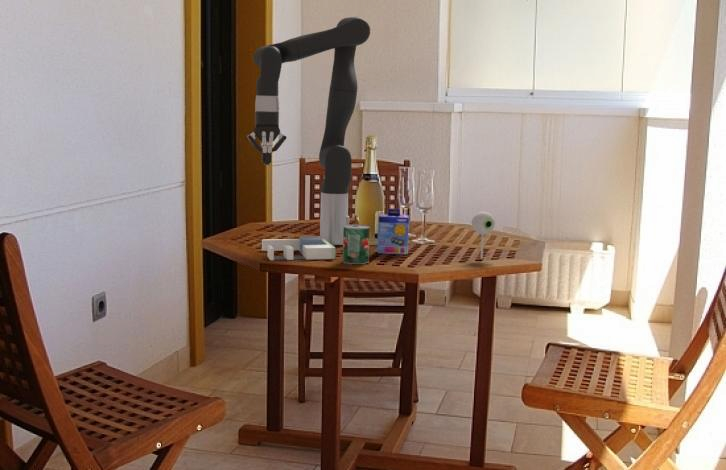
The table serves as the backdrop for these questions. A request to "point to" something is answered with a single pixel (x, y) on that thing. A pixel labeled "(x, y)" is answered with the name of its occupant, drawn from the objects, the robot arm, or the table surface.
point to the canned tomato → (356, 244)
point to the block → (309, 242)
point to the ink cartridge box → (393, 233)
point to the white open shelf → (294, 244)
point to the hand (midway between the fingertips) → (266, 164)
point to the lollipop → (483, 225)
